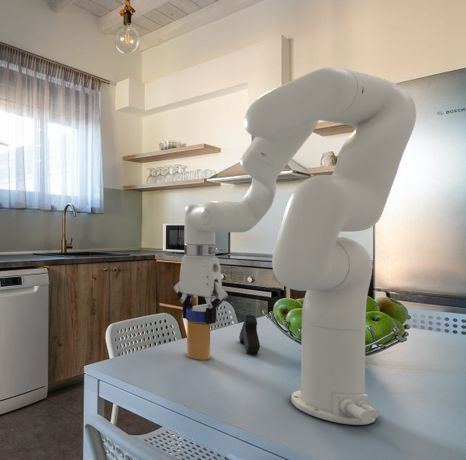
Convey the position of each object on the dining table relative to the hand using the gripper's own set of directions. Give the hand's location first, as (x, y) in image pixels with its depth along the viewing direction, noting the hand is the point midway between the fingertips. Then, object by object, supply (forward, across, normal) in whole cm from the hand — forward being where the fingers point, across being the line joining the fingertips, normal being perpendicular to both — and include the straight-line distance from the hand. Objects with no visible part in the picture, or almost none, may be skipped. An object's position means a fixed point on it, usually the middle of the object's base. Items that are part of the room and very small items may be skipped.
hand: (198, 320), depth 104 cm
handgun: (+10, -2, -18) cm, 21 cm away
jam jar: (+9, 0, 0) cm, 9 cm away
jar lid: (0, 0, 0) cm, 0 cm away
